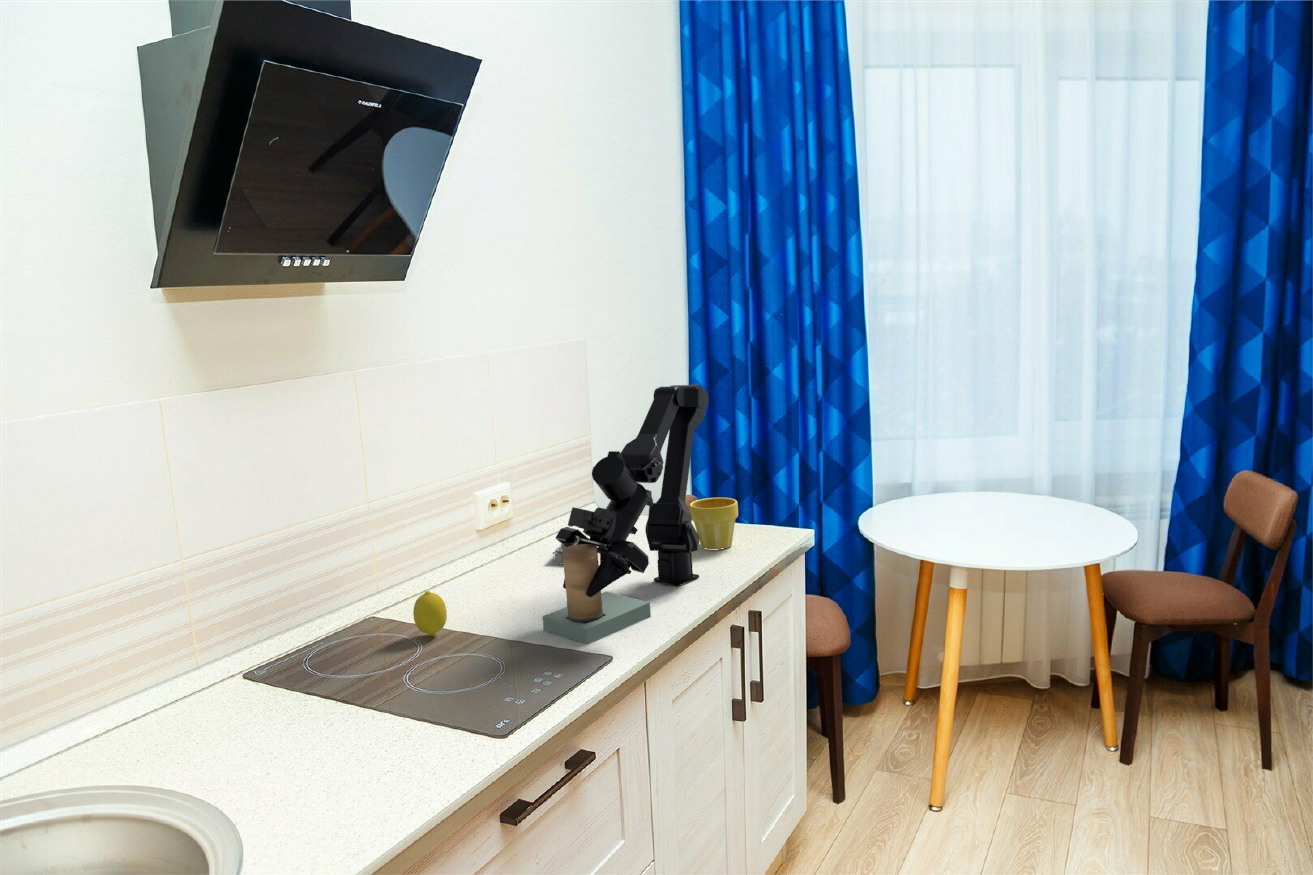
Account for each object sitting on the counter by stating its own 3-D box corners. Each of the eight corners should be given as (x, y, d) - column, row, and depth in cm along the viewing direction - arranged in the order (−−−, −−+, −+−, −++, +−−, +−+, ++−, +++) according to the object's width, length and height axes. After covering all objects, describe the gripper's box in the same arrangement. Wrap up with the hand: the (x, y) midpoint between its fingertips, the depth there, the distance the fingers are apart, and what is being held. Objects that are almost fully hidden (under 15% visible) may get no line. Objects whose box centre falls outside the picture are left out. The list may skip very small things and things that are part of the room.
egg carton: (572, 550, 209) (571, 532, 209) (603, 552, 206) (602, 534, 206) (549, 564, 199) (548, 545, 199) (581, 566, 197) (580, 547, 196)
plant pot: (689, 542, 209) (686, 499, 207) (735, 537, 210) (732, 495, 208) (696, 555, 198) (693, 510, 197) (744, 550, 199) (741, 505, 198)
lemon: (440, 642, 158) (435, 596, 157) (410, 642, 159) (405, 596, 158) (454, 630, 163) (449, 586, 162) (424, 629, 164) (419, 586, 163)
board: (606, 604, 171) (605, 591, 171) (650, 616, 164) (649, 602, 163) (543, 630, 160) (542, 616, 160) (587, 643, 153) (586, 629, 153)
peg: (587, 620, 163) (580, 542, 161) (611, 626, 159) (604, 547, 157) (562, 631, 159) (554, 551, 156) (586, 638, 155) (578, 556, 152)
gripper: (559, 481, 164) (512, 558, 159) (630, 494, 151) (582, 578, 145) (597, 516, 171) (554, 590, 165) (669, 531, 157) (624, 612, 152)
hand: (576, 592), depth 157 cm, fingers closed on peg, 6 cm apart
